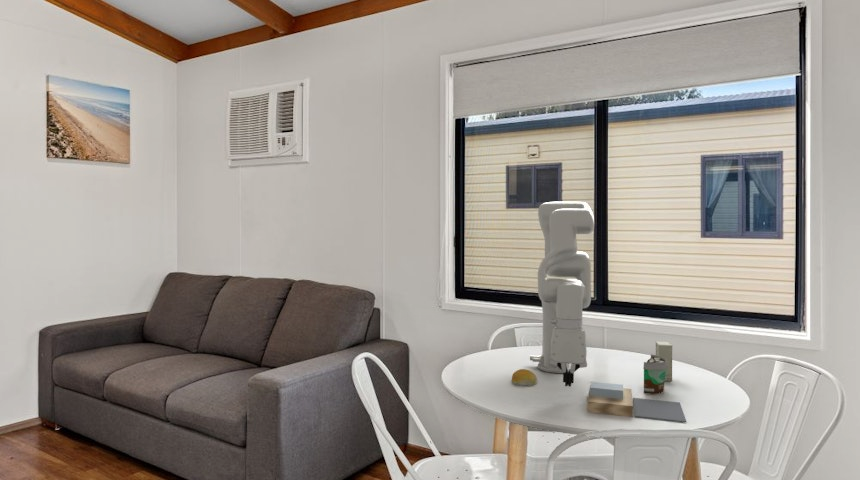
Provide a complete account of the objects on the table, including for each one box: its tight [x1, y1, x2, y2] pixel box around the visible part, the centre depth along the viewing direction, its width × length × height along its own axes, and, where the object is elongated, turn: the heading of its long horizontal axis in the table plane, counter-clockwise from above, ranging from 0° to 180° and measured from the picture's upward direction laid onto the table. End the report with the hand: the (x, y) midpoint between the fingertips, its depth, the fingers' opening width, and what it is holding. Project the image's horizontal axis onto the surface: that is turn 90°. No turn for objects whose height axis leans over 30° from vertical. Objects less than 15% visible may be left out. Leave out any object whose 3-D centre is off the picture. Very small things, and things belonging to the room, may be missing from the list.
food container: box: [643, 354, 668, 395], centre depth 176 cm, size 12×6×10 cm, turn 148°
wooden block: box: [586, 384, 634, 418], centre depth 162 cm, size 12×16×3 cm
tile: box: [589, 381, 624, 399], centre depth 162 cm, size 9×6×2 cm, turn 72°
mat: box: [632, 397, 687, 423], centre depth 158 cm, size 13×16×1 cm
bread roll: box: [511, 368, 538, 387], centre depth 184 cm, size 8×9×4 cm
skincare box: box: [655, 340, 673, 382], centre depth 189 cm, size 6×4×12 cm
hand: (568, 385), depth 166 cm, fingers closed
